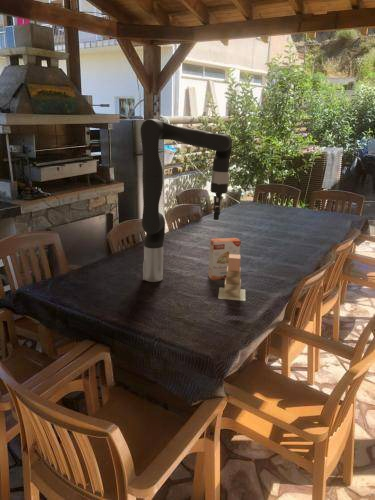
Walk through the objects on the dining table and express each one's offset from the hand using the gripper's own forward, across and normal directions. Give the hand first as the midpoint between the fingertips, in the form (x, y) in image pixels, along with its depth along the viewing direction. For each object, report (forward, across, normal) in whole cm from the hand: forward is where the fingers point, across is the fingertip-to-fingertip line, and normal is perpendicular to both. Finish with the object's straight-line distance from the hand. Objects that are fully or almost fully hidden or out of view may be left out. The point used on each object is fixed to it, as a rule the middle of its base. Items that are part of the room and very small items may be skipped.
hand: (216, 217), depth 186 cm
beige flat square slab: (+34, +10, +10) cm, 37 cm away
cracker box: (+34, -10, +5) cm, 36 cm away
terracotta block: (+20, +9, +10) cm, 25 cm away
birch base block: (+32, +10, +10) cm, 35 cm away
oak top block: (+26, +10, +10) cm, 30 cm away
